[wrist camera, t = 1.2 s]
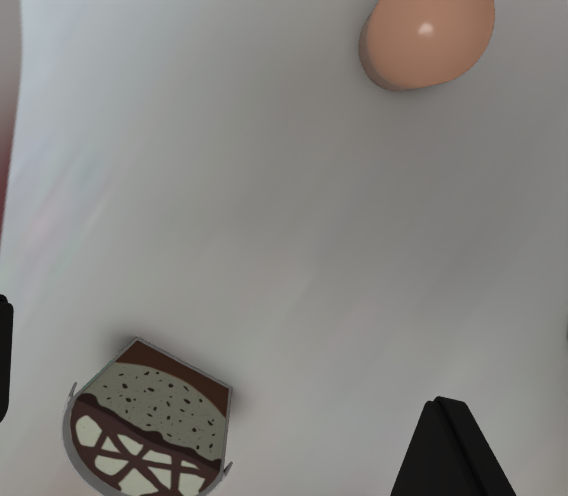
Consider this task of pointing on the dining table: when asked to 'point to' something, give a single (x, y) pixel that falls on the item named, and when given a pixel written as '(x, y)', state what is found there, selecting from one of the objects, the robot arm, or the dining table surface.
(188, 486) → the food container
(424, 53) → the cylinder block
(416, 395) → the dining table surface
